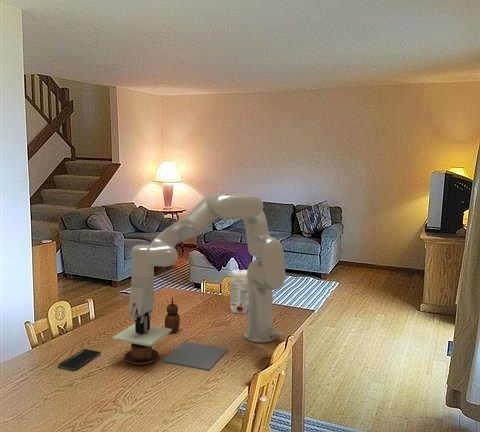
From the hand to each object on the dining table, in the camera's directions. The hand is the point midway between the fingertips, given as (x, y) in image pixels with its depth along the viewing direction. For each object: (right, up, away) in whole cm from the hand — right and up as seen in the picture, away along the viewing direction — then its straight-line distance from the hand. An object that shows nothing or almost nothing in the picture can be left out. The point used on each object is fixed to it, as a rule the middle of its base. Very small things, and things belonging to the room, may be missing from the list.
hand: (142, 330), depth 172 cm
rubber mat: (+18, -10, +6) cm, 22 cm away
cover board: (0, -2, 0) cm, 2 cm away
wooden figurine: (+6, -7, +29) cm, 30 cm away
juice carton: (+34, -4, +55) cm, 65 cm away
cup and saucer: (-1, -11, +2) cm, 11 cm away
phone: (-22, -11, 0) cm, 25 cm away
